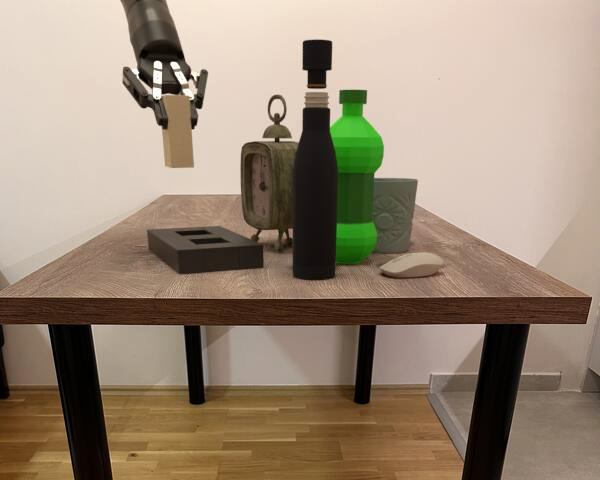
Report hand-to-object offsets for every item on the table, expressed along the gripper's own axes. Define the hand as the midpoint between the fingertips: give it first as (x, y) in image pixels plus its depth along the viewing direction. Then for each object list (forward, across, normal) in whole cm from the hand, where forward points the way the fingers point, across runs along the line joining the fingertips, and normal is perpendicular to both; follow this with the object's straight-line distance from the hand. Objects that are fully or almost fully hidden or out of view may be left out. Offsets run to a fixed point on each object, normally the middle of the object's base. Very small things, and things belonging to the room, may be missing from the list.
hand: (179, 124), depth 97 cm
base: (+13, +3, +15) cm, 20 cm away
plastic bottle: (+22, +24, +7) cm, 33 cm away
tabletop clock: (+10, +19, +19) cm, 29 cm away
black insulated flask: (+28, +14, +1) cm, 31 cm away
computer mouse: (+31, +28, -2) cm, 42 cm away
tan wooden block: (+3, 0, +6) cm, 6 cm away
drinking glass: (+16, +36, +13) cm, 42 cm away
